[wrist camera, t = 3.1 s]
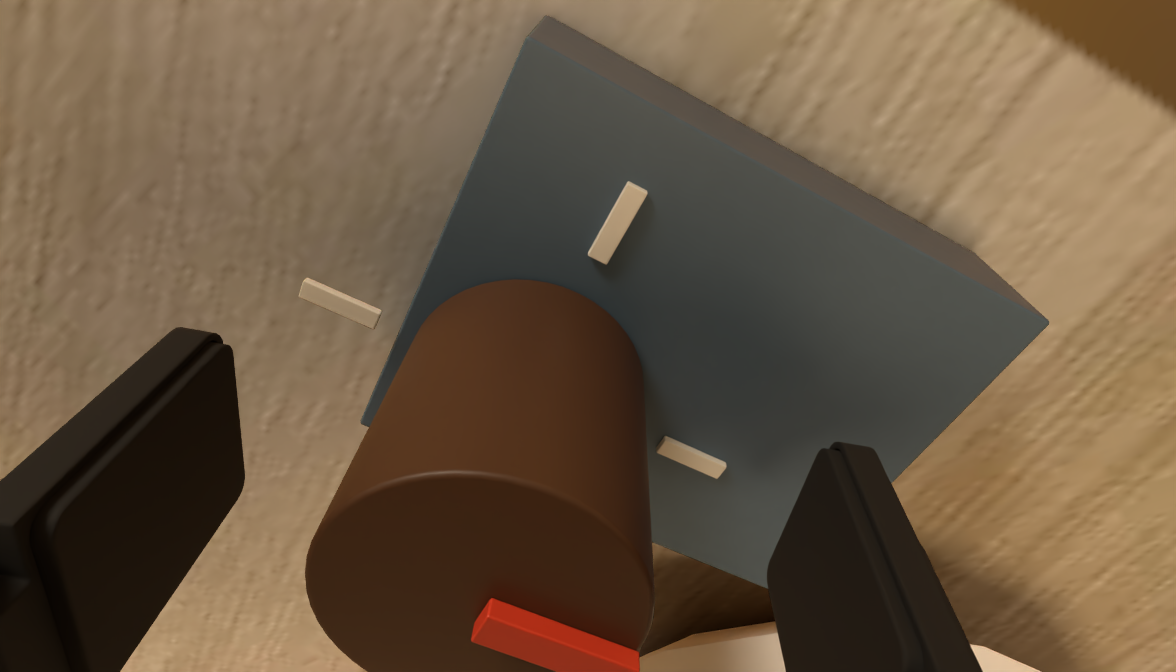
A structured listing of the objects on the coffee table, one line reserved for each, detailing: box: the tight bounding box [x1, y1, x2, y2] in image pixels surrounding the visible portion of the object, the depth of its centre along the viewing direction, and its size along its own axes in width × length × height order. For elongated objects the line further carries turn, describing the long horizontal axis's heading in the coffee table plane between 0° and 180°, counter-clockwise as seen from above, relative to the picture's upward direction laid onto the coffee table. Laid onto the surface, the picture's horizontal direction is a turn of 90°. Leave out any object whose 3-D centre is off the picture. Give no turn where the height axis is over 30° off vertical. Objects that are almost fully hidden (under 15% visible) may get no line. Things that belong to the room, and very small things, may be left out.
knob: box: [305, 279, 655, 672], centre depth 11 cm, size 4×4×5 cm
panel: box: [299, 15, 1049, 589], centre depth 14 cm, size 12×10×3 cm
